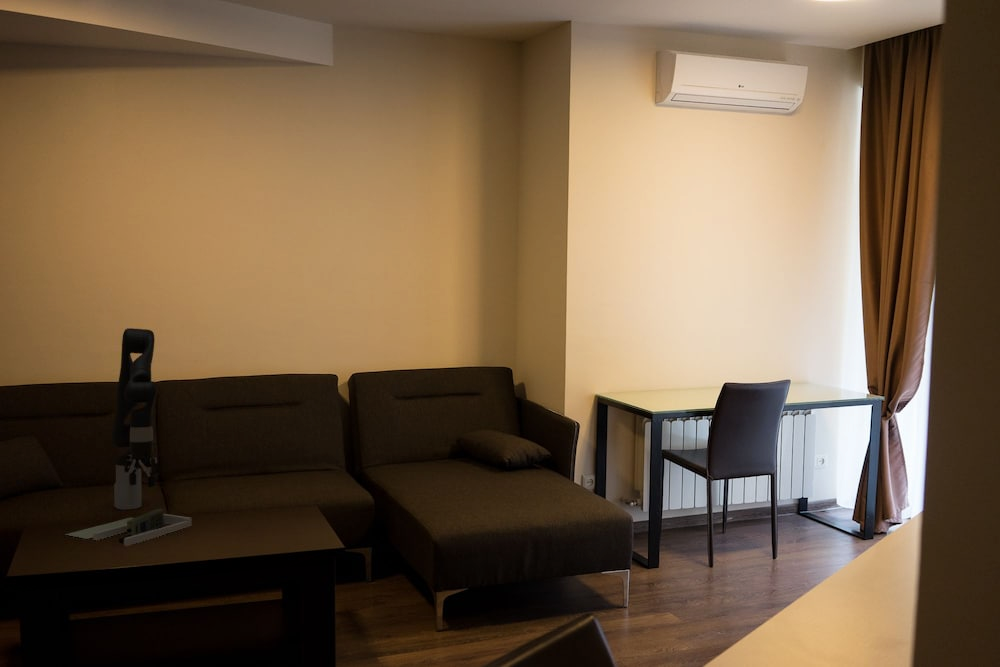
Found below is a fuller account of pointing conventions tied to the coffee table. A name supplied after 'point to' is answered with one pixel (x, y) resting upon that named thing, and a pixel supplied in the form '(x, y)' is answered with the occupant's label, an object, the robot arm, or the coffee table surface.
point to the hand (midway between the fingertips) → (141, 485)
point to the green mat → (98, 529)
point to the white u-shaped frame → (174, 520)
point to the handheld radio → (144, 523)
